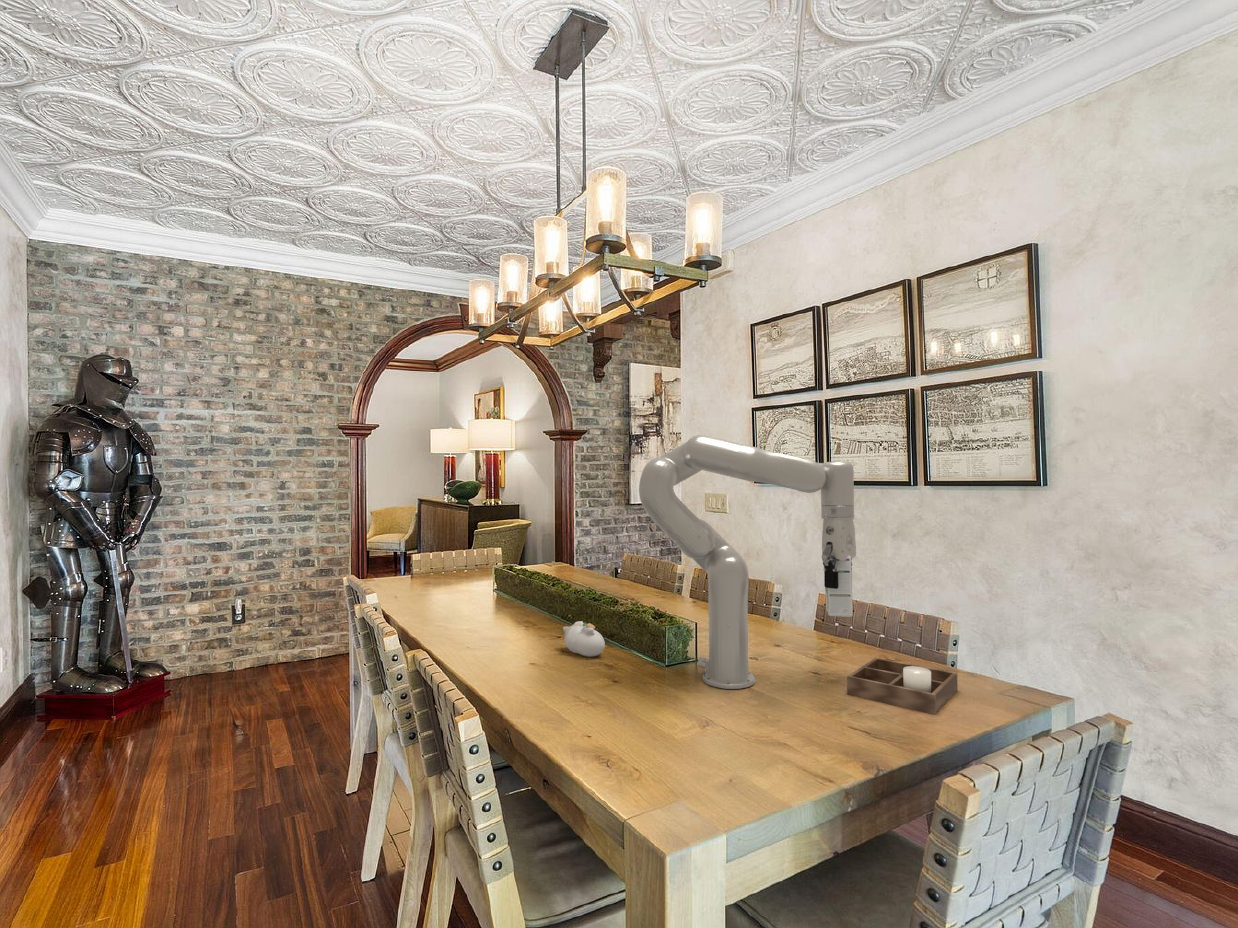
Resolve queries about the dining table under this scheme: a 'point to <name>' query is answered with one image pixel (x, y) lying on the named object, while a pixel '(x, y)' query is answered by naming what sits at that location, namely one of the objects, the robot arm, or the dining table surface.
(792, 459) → the robot arm
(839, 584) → the grey tall block
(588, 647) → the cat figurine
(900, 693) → the tray
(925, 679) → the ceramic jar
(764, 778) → the dining table surface
